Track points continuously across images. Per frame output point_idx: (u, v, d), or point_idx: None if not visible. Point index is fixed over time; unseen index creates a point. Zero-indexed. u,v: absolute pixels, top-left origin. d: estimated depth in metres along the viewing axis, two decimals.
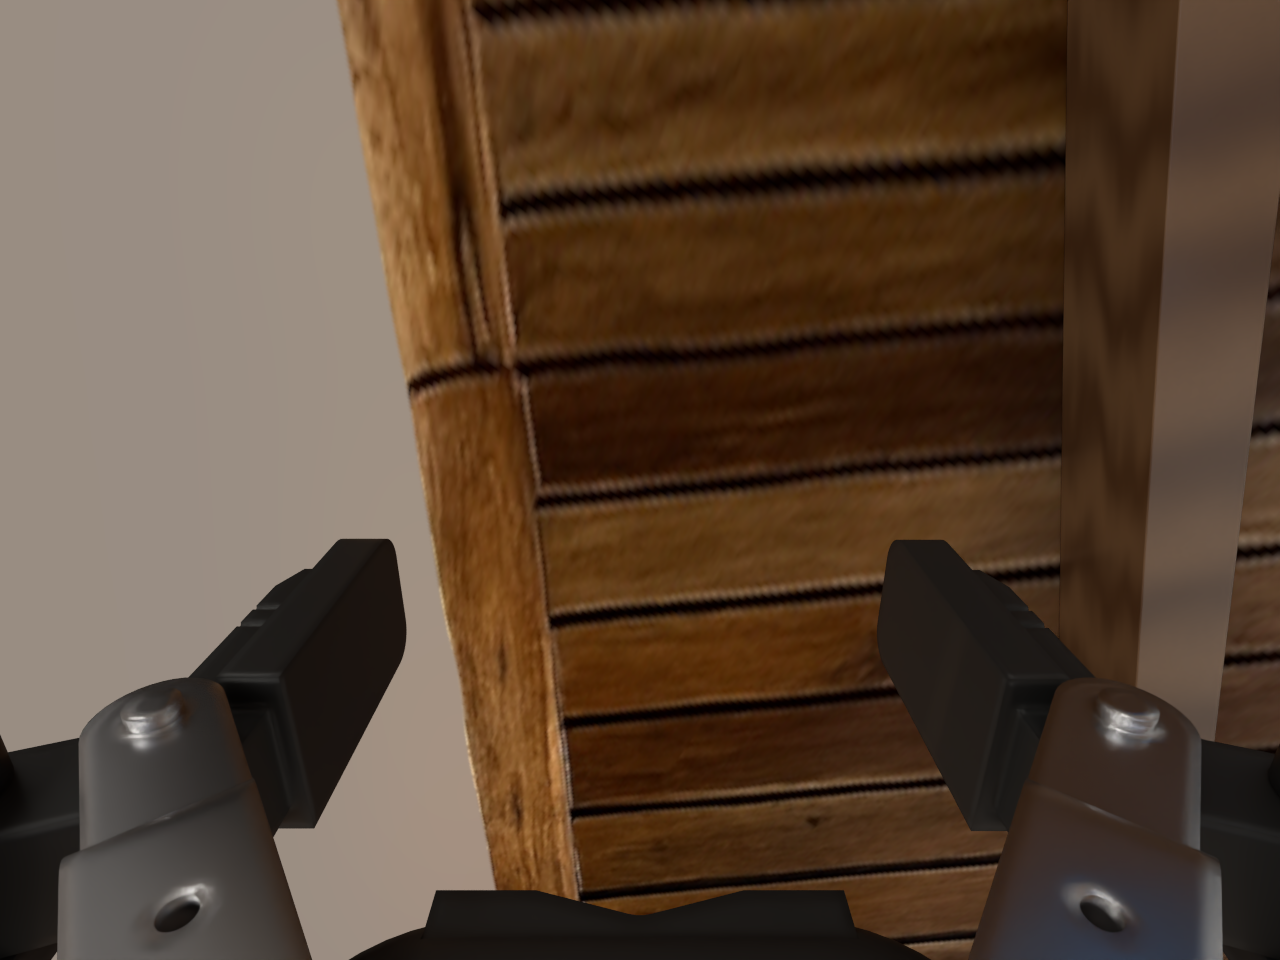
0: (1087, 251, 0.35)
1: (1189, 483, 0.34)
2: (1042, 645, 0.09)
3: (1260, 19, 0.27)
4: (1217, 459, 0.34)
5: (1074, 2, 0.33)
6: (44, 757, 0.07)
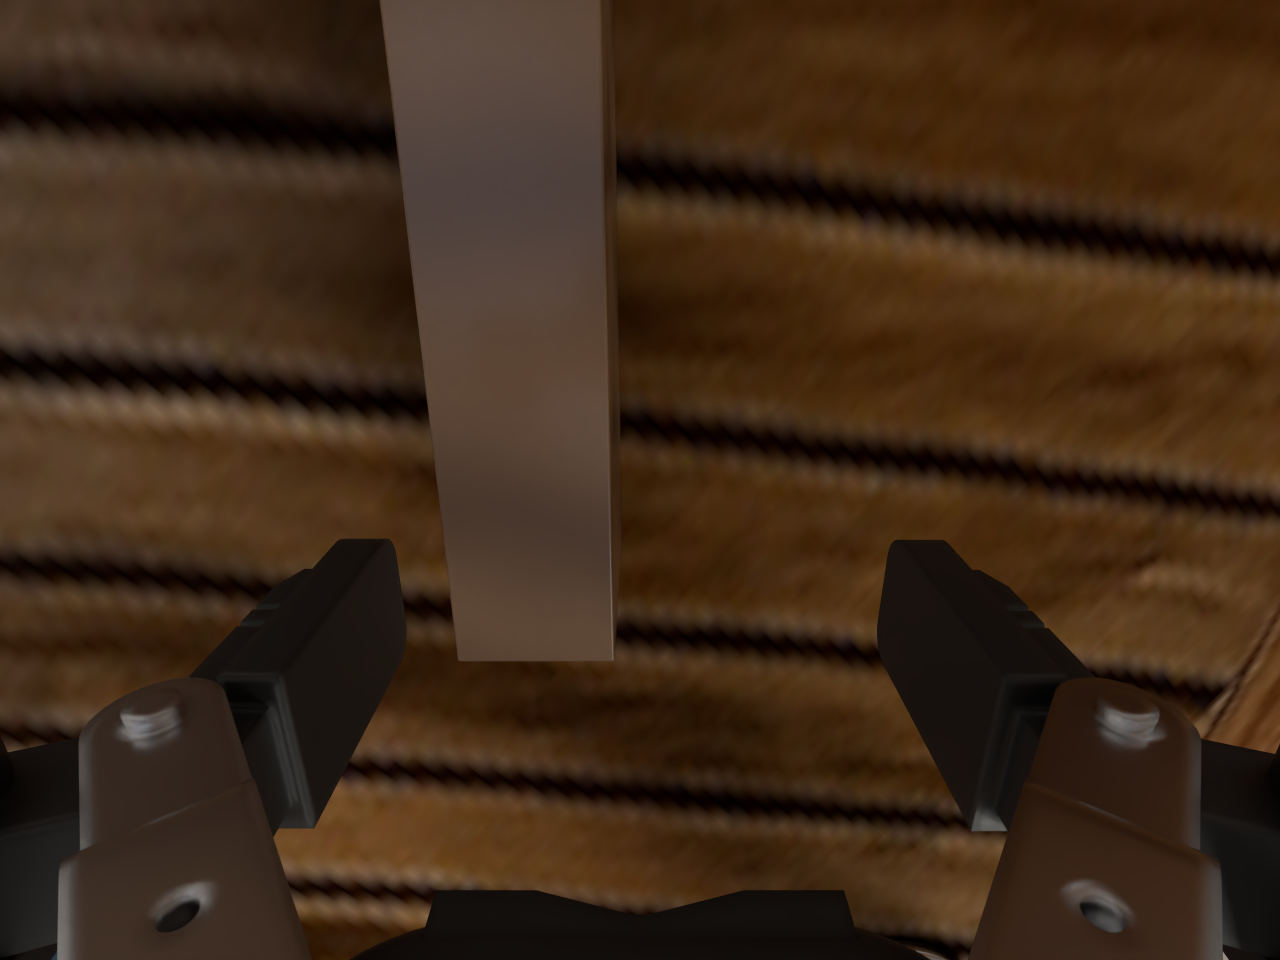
0: None
1: None
2: (1042, 645, 0.09)
3: (481, 329, 0.17)
4: None
5: (618, 377, 0.24)
6: (44, 757, 0.07)
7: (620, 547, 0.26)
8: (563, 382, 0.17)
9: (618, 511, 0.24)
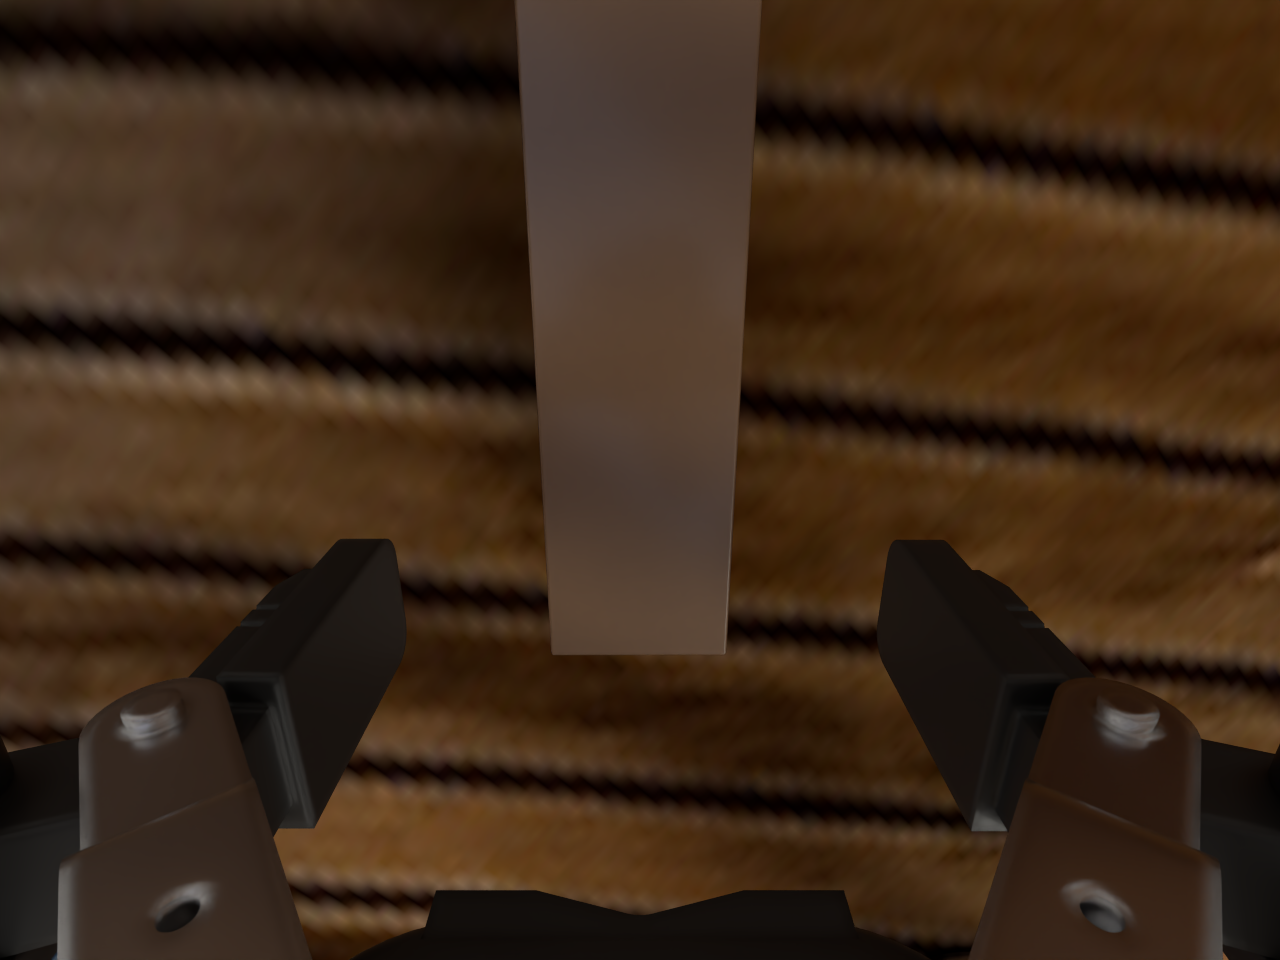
0: None
1: None
2: (1042, 645, 0.09)
3: (603, 273, 0.15)
4: None
5: None
6: (44, 757, 0.07)
7: None
8: (691, 336, 0.15)
9: None
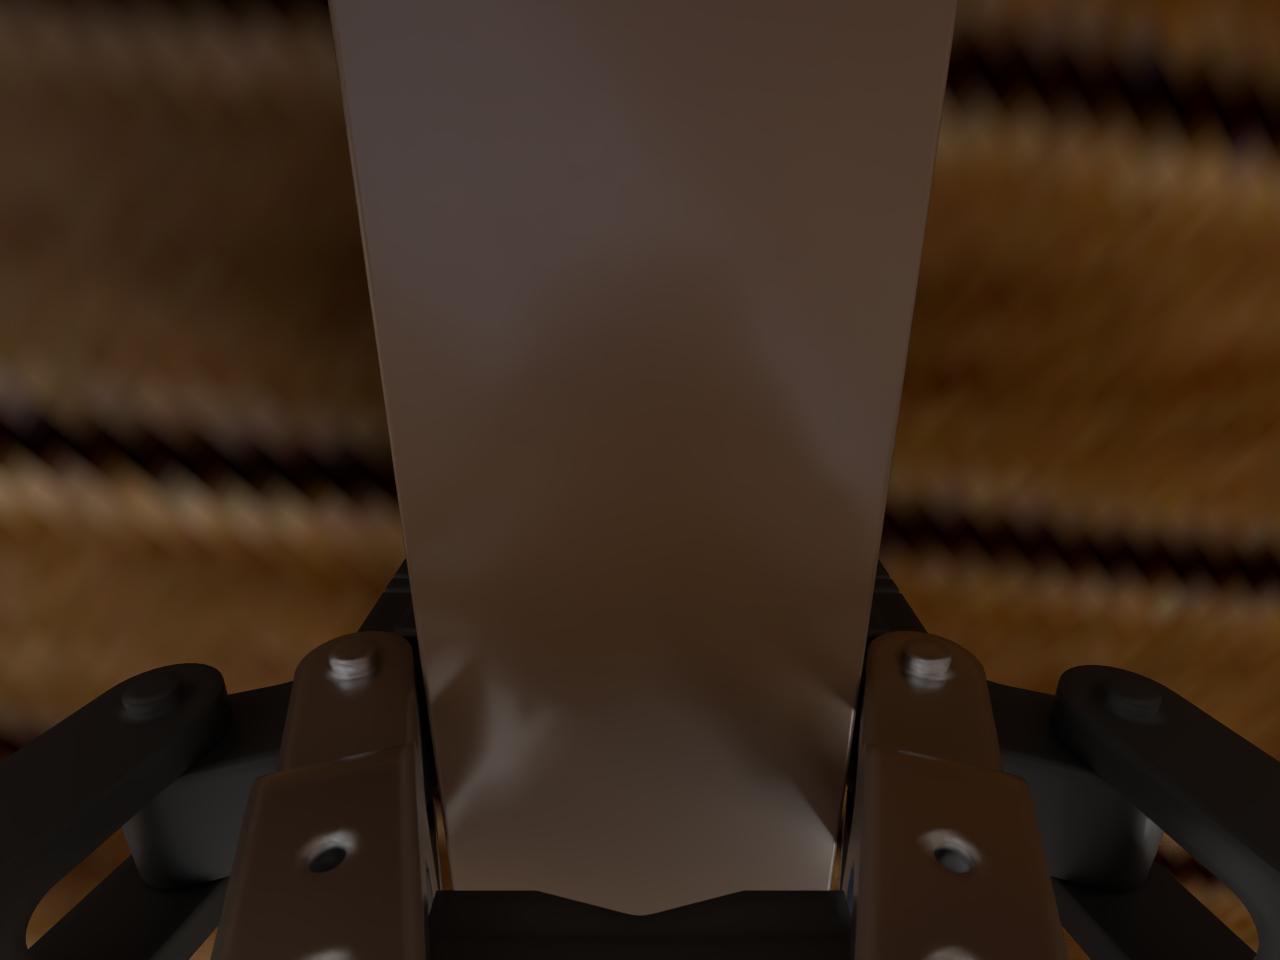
0: None
1: None
2: (890, 607, 0.10)
3: (556, 377, 0.06)
4: None
5: None
6: (251, 700, 0.08)
7: None
8: (765, 514, 0.07)
9: None
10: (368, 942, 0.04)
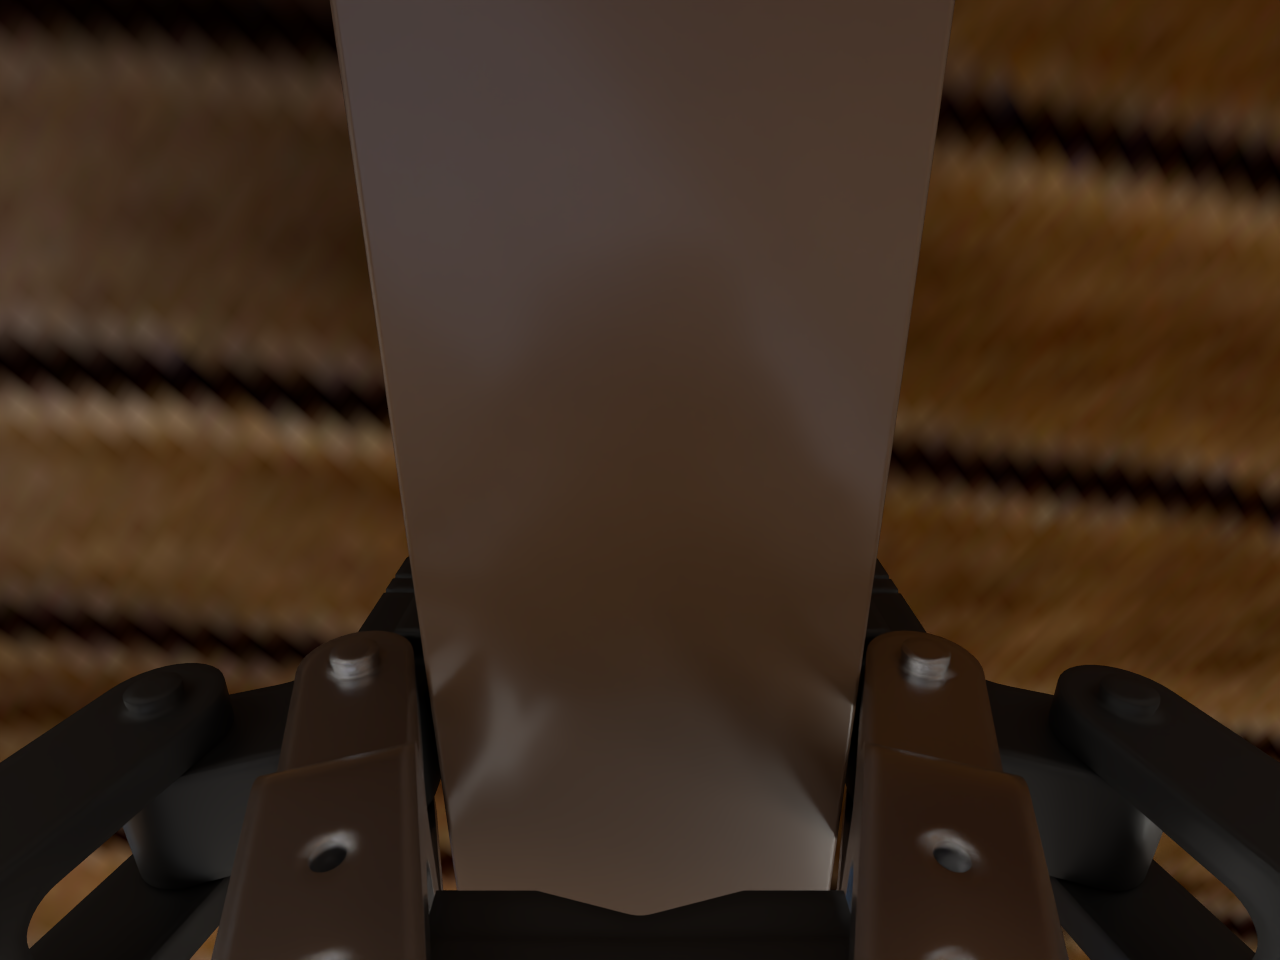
0: None
1: None
2: (889, 607, 0.10)
3: (557, 379, 0.06)
4: None
5: None
6: (252, 700, 0.08)
7: None
8: (765, 514, 0.07)
9: None
10: (369, 942, 0.04)
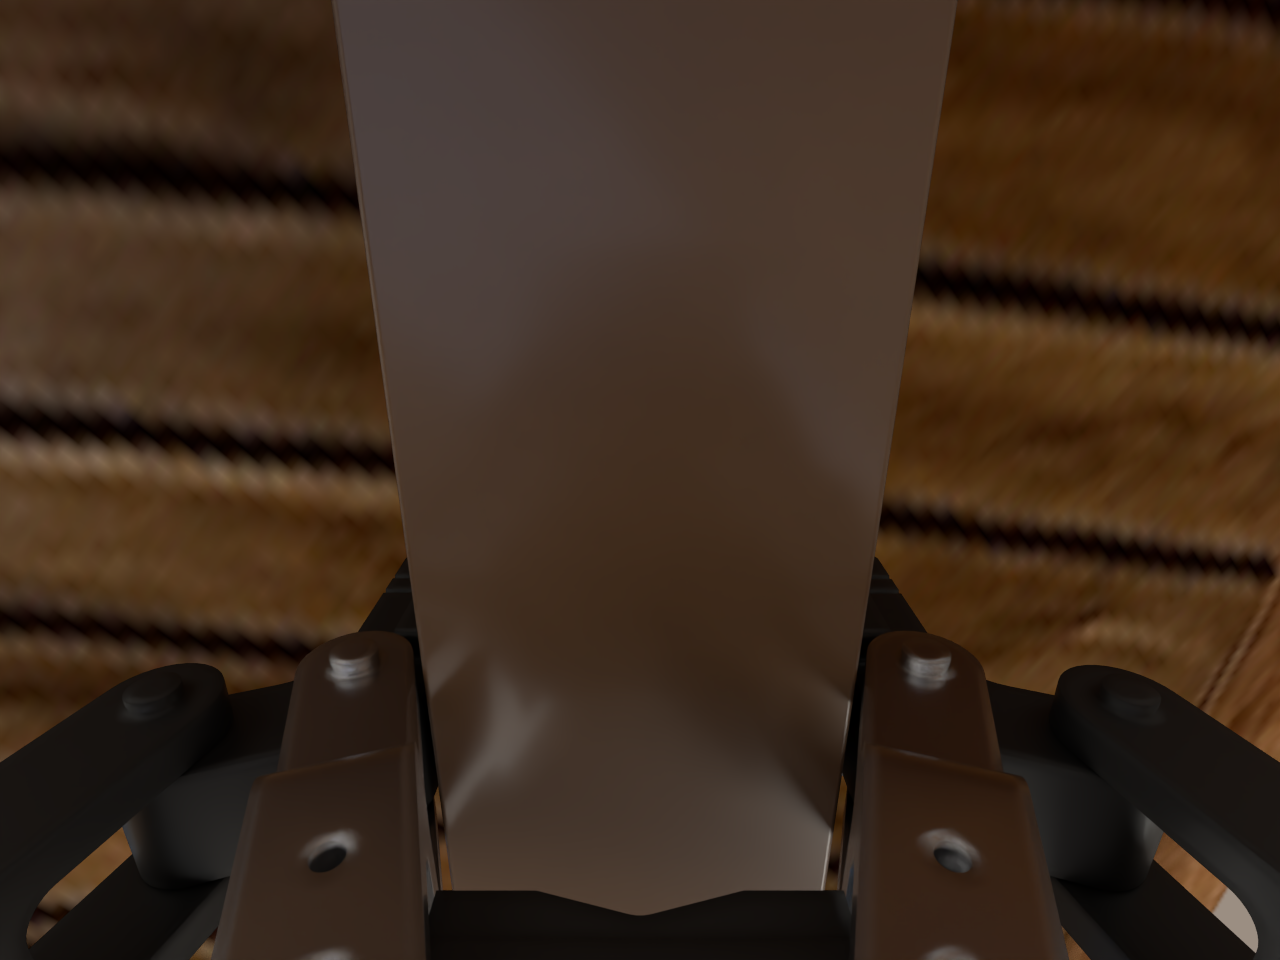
0: None
1: None
2: (889, 607, 0.10)
3: (556, 383, 0.06)
4: None
5: None
6: (252, 700, 0.08)
7: None
8: (762, 519, 0.07)
9: None
10: (369, 942, 0.04)
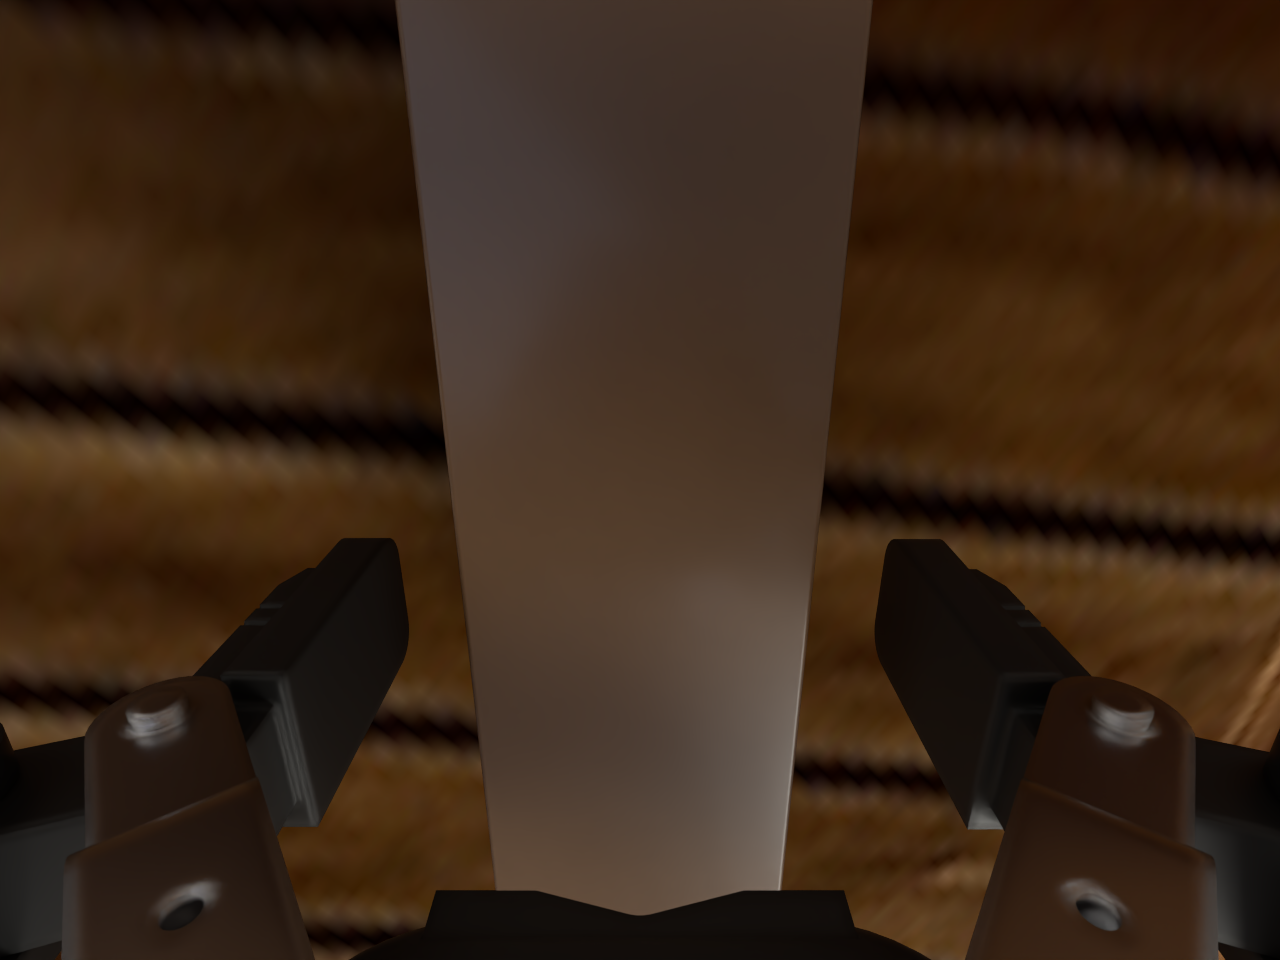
0: None
1: None
2: (1038, 644, 0.09)
3: (572, 410, 0.08)
4: None
5: None
6: (49, 756, 0.07)
7: None
8: (729, 511, 0.09)
9: None
10: None
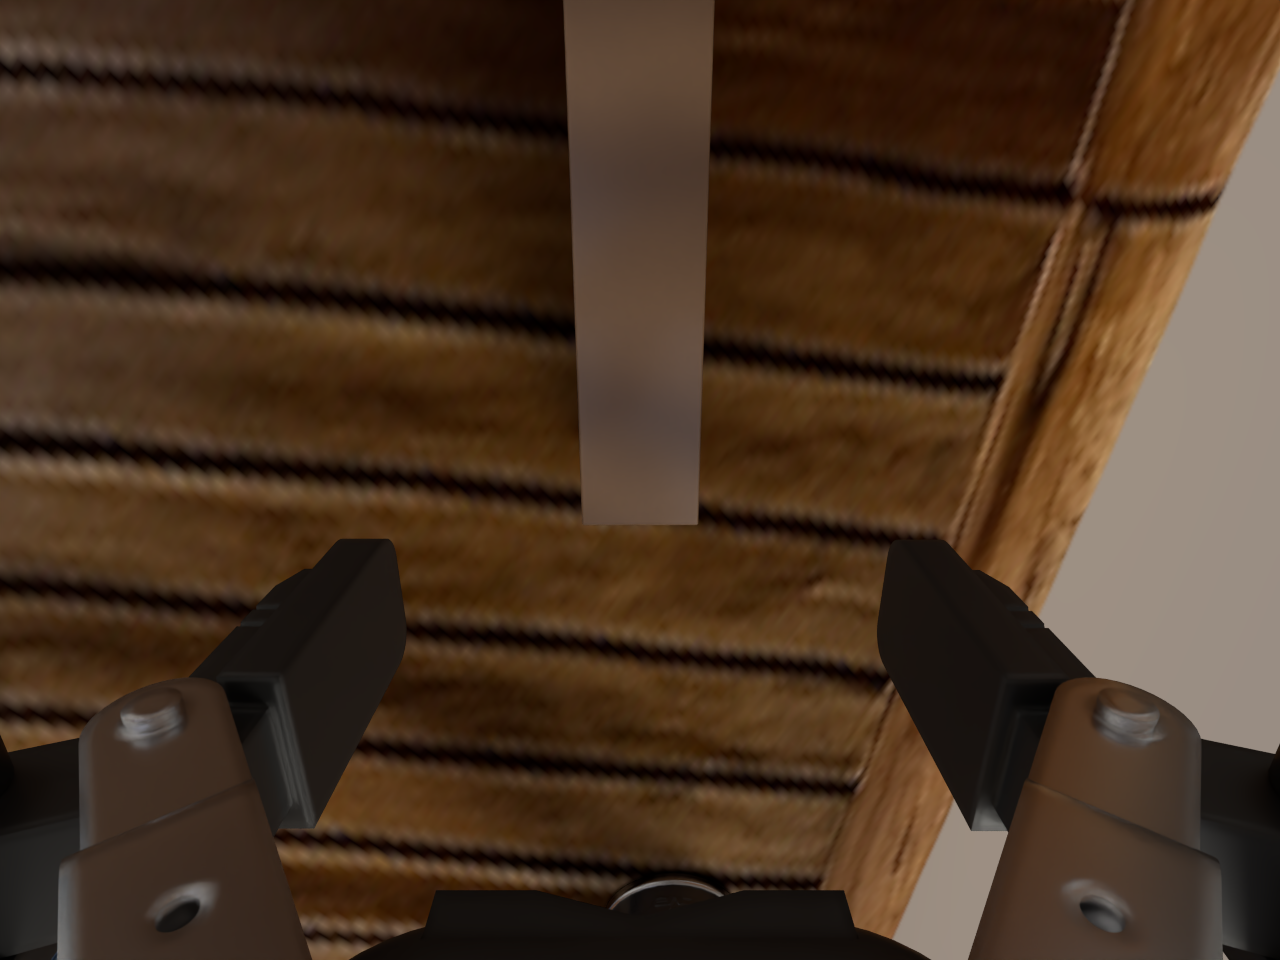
0: None
1: None
2: (1042, 645, 0.09)
3: (617, 272, 0.24)
4: None
5: None
6: (44, 757, 0.07)
7: None
8: (672, 311, 0.25)
9: None
10: None
